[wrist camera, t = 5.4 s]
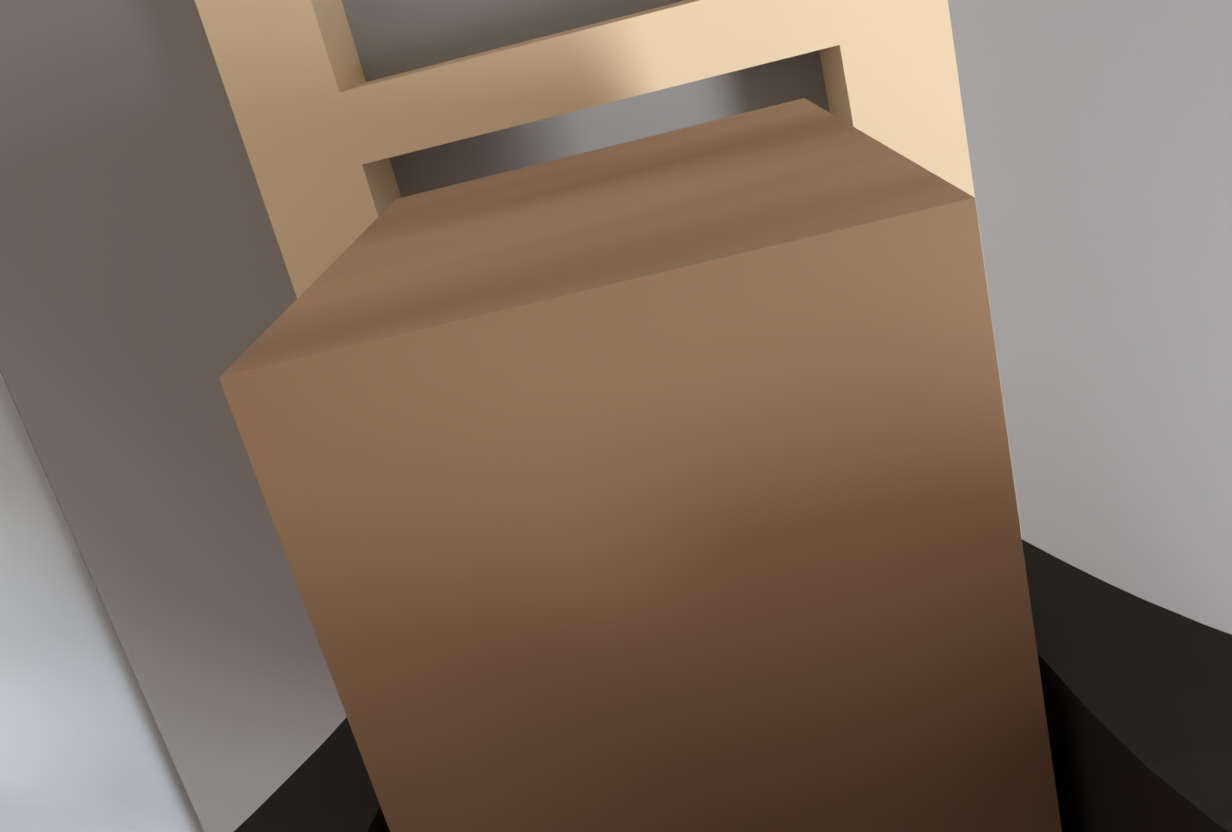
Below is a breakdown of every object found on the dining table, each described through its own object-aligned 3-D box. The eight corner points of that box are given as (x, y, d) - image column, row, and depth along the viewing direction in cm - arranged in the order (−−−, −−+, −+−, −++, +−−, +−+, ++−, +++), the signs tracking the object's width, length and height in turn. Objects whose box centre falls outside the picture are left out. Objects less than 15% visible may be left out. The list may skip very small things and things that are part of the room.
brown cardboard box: (942, 854, 14) (1134, 1357, 9) (616, 918, 14) (619, 1441, 9) (803, 97, 11) (975, 198, 6) (395, 199, 11) (219, 376, 6)
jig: (1315, 680, 18) (1403, 766, 16) (254, 895, 19) (214, 999, 17) (1242, -939, 12) (1371, -1127, 10) (-333, -456, 13) (-500, -534, 11)
